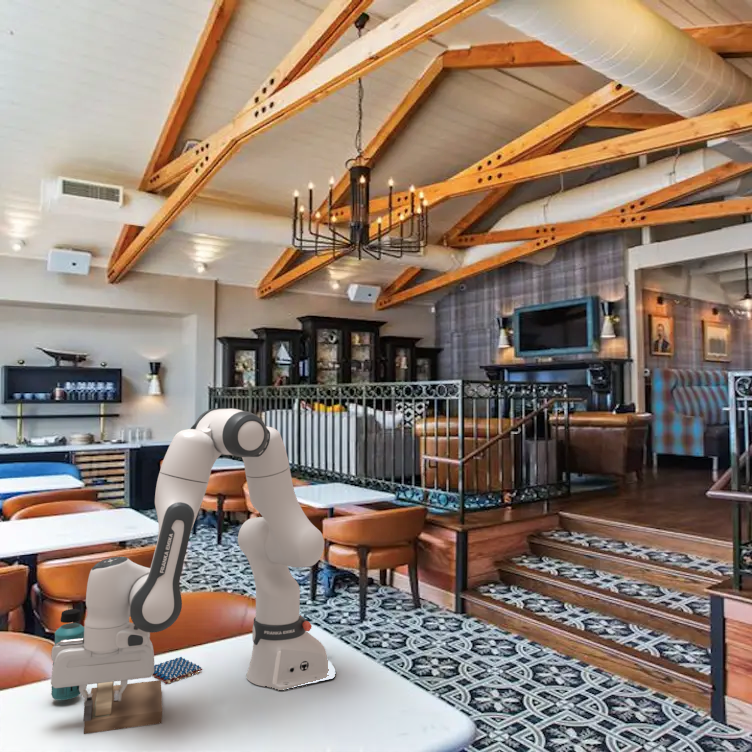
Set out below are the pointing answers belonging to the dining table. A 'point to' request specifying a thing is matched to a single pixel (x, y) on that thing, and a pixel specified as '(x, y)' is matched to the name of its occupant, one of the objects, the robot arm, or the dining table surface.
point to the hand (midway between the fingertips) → (102, 702)
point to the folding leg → (104, 698)
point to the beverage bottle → (68, 633)
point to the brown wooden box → (126, 708)
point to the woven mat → (175, 670)
